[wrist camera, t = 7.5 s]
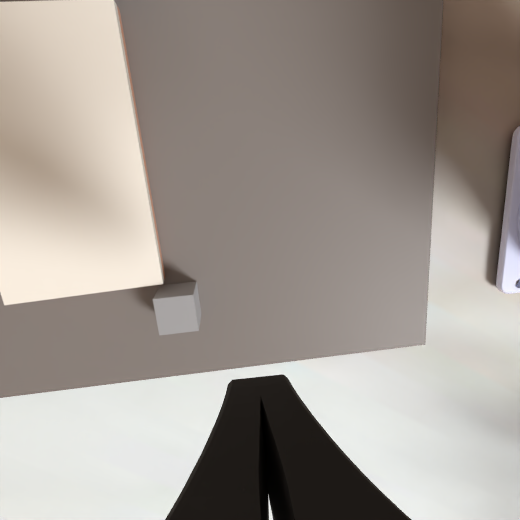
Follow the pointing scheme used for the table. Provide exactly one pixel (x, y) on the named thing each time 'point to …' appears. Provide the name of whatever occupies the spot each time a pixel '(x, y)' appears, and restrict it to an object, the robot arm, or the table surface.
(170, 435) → the table surface
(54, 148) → the tile
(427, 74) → the board
